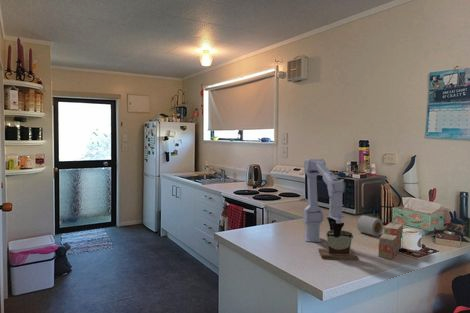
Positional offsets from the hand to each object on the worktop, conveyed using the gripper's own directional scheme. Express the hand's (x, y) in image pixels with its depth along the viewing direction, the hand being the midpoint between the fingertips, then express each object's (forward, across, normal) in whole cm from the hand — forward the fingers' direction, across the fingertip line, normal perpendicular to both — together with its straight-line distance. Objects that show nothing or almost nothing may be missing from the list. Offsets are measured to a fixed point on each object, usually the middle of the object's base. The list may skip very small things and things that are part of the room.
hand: (334, 234), depth 158 cm
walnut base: (+10, 0, -1) cm, 10 cm away
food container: (+9, 0, -2) cm, 9 cm away
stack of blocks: (+10, +8, -29) cm, 32 cm away
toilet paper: (+10, +38, -28) cm, 49 cm away
